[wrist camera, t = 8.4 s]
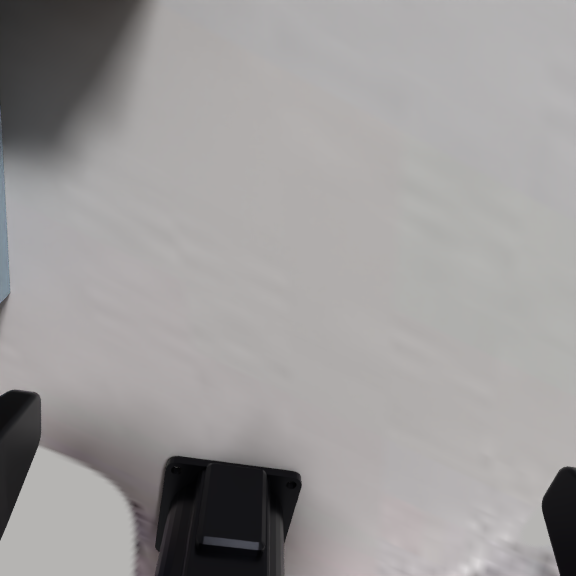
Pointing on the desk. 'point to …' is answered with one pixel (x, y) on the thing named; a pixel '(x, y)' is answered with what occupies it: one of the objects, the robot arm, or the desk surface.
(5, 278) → the light blue rectangular block
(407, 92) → the desk surface
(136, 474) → the desk surface
